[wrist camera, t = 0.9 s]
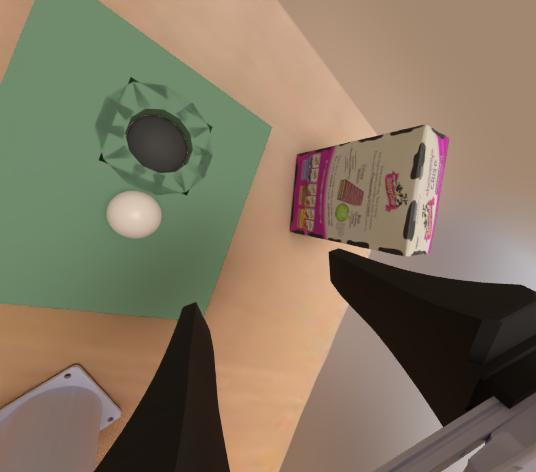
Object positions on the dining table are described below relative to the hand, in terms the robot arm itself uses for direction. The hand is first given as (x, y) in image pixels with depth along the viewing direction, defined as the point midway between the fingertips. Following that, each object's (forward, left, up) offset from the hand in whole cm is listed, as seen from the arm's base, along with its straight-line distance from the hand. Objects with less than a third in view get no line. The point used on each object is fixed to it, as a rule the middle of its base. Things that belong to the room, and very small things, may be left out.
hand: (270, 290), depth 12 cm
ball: (-4, +5, -13) cm, 14 cm away
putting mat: (-2, +7, -17) cm, 18 cm away
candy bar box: (+17, -2, -17) cm, 24 cm away
